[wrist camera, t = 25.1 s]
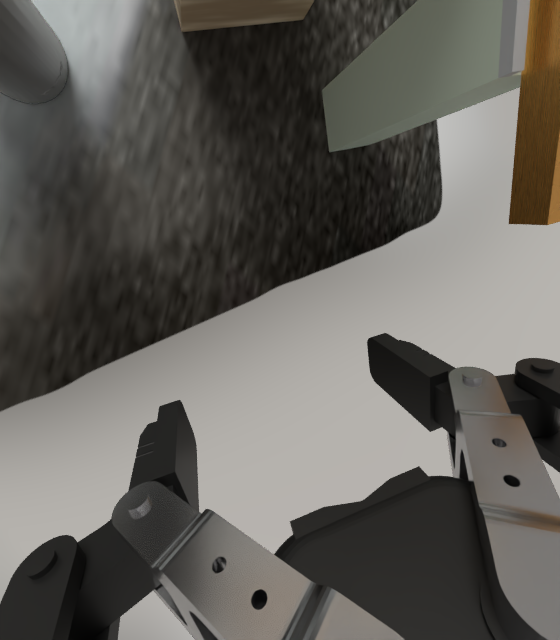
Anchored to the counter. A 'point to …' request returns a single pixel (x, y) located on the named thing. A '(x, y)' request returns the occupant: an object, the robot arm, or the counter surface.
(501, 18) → the grooved green pillar
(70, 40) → the counter surface
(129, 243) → the counter surface
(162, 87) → the counter surface
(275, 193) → the counter surface
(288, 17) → the stand
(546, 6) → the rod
